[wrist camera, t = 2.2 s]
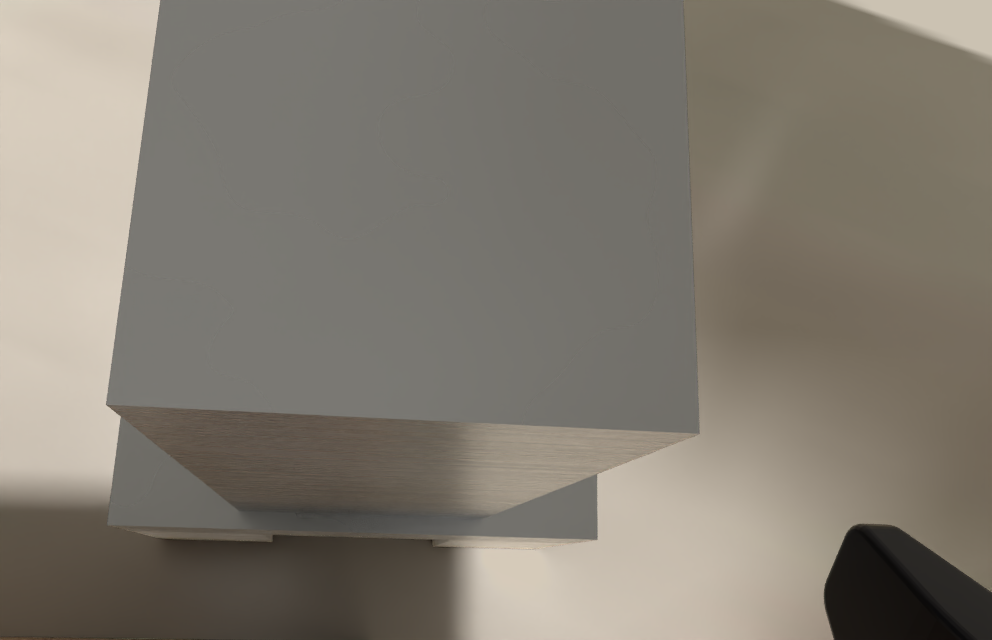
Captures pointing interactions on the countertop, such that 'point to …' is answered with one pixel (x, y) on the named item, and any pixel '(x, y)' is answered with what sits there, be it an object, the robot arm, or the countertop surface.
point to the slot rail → (79, 639)
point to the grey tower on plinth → (404, 269)
